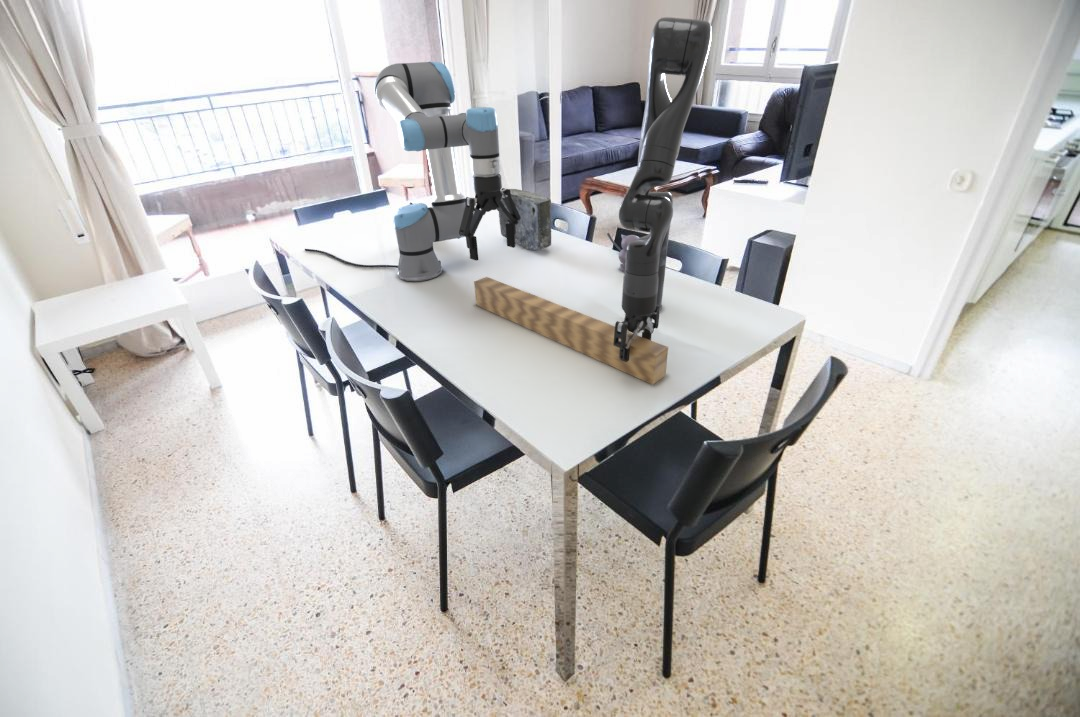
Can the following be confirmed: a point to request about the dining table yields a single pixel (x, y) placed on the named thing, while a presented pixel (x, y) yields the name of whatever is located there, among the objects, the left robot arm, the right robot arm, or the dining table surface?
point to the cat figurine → (625, 242)
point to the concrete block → (530, 220)
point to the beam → (572, 329)
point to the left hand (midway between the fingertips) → (493, 252)
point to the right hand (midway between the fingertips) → (635, 353)
